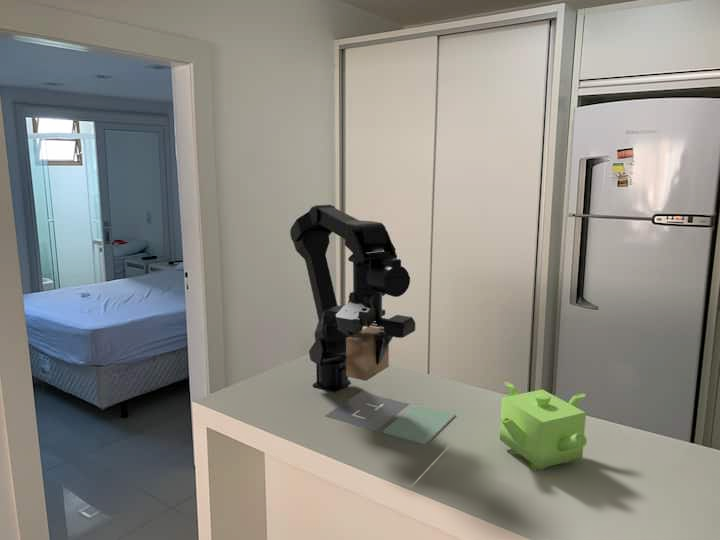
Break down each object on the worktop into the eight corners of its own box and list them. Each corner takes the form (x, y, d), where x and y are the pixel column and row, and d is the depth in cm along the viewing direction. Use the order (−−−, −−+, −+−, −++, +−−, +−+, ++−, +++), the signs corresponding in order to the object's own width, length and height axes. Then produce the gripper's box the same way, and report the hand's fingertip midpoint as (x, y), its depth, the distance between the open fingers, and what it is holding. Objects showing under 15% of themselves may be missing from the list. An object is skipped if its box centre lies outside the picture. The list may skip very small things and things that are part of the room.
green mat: (382, 433, 107) (382, 431, 107) (415, 406, 119) (415, 404, 118) (425, 446, 102) (425, 443, 102) (455, 416, 114) (455, 414, 114)
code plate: (324, 416, 114) (324, 415, 114) (361, 392, 126) (361, 391, 126) (375, 431, 108) (375, 430, 108) (409, 404, 119) (409, 403, 119)
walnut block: (346, 376, 112) (345, 337, 111) (369, 362, 120) (369, 326, 118) (366, 380, 110) (365, 341, 108) (388, 366, 117) (388, 329, 116)
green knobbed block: (502, 430, 108) (504, 374, 106) (581, 442, 104) (585, 384, 101) (492, 469, 94) (495, 407, 92) (583, 486, 90) (589, 420, 88)
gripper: (305, 289, 110) (307, 365, 113) (389, 301, 100) (388, 384, 103) (337, 278, 119) (338, 349, 122) (417, 288, 109) (416, 365, 112)
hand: (367, 361), depth 115 cm, fingers closed on walnut block, 5 cm apart
